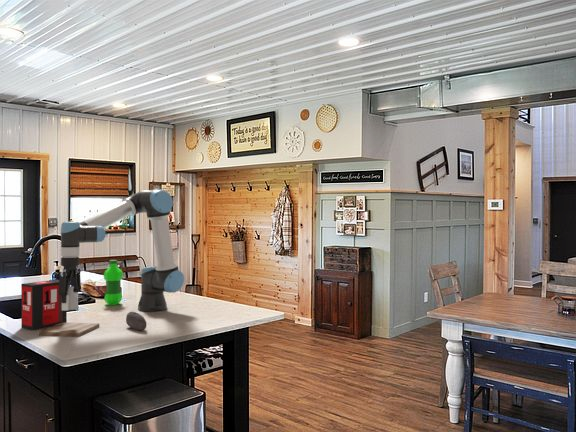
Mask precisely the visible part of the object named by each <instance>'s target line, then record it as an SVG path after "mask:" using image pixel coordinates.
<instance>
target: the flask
mask: <svg viewBox="0 0 576 432" xmlns="http://www.w3.org/2000/svg"><path fill="white" fill-rule="evenodd" d="M73 288H74V286H71V285H69V289H68V294H67V295H69V308H68V311H74V310H79V309H80V307H79V304H78V305H77V302H76V299H75V296H74V292H73Z"/></svg>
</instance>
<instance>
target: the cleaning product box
mask: <svg viewBox="0 0 576 432" xmlns="http://www.w3.org/2000/svg"><path fill="white" fill-rule="evenodd" d="M20 286H21V294H20V295H21V296H20V297H21V303H20V304H21V307H20V309H21V314H20V315H21V318H20V319H21V321H20V322H21V323H20V324H21V329H24V330H29V331H37V330H44V329H47V328H49V327H52V326H54V325H57V324H60V323H62V322H65V323H68V322H67V318H68V317H67V313H68V312H67V311H65V310H62V296H61V295H59V294H58V290H59V279H51V280H42V281H33V282H26V283H21V285H20Z"/></svg>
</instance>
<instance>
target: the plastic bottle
mask: <svg viewBox="0 0 576 432" xmlns="http://www.w3.org/2000/svg"><path fill="white" fill-rule="evenodd" d="M117 264H118V260H117V259H110V260H109V265H110V266H109V267H108V268H107V269H106V270H105V271H104V273H103V279H104V280H105V294H104V302H105V303H106V304H107V305H109V306H115V305H116V306H117V305H119V303H121V302H122V299H123V295H122V291H121V287H122V286H121V283H122V282H121V280H122V279H123V276H124V272H123V270H122V269H120V268H119V267H118V265H117Z"/></svg>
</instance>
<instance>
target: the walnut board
mask: <svg viewBox="0 0 576 432" xmlns="http://www.w3.org/2000/svg"><path fill="white" fill-rule="evenodd" d="M99 327H100V323H97V322H96V323H94V322H93V323H92V322H67V323H65V322H62V323H60V324H57V325H54V326H52V327H48V328H43V329H41V330H39V331H38V336H51V337H53V336H54V337H55V336H56V337H60V336H61V337H81V336H83V335H85V334H87V333H89V332H92V331H94V330H96V329H98V328H99Z"/></svg>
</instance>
